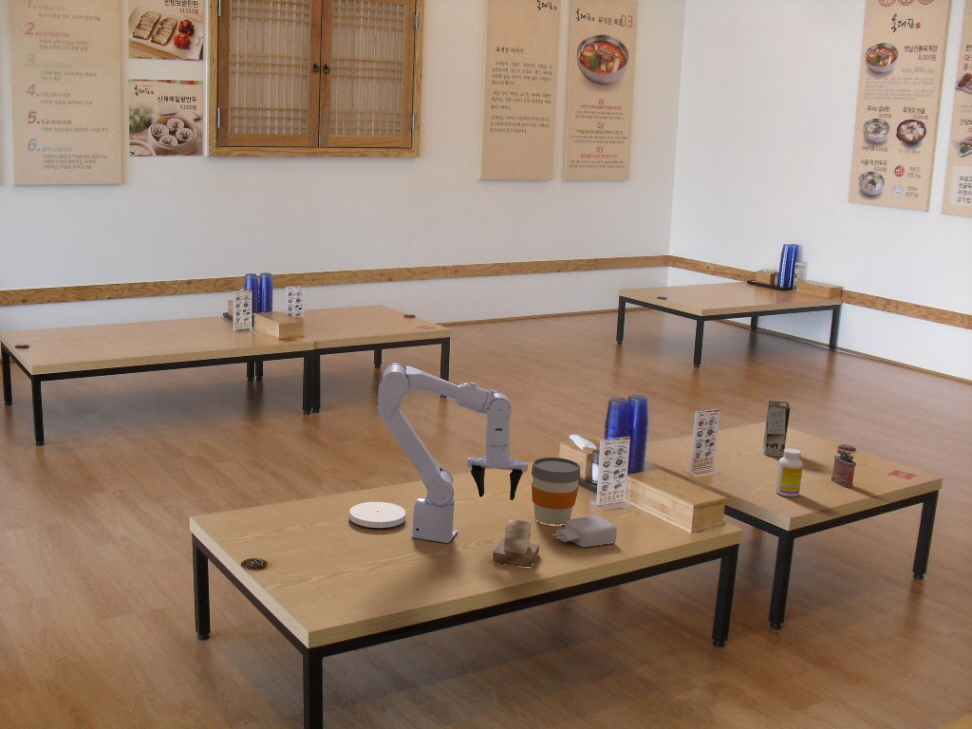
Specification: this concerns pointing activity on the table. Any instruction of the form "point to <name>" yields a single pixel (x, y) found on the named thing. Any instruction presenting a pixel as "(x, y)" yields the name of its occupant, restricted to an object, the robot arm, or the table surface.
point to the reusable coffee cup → (554, 489)
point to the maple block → (517, 536)
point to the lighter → (843, 469)
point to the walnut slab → (515, 555)
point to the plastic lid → (377, 514)
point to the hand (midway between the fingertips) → (497, 497)
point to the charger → (587, 531)
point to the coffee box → (776, 428)
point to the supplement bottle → (789, 473)
